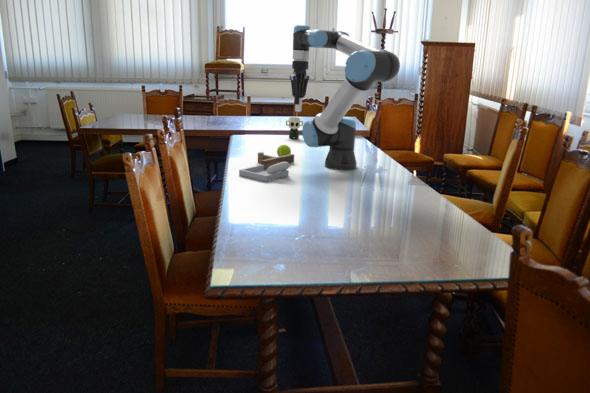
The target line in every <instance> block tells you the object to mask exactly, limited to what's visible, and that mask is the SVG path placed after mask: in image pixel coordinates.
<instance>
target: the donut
mask: <svg viewBox="0 0 590 393" xmlns="http://www.w3.org/2000/svg"><path fill="white" fill-rule="evenodd" d="M289 168H290V164H289V163H288V162H281V163H277V164H275V165H272V166H270V167H268V169H266V170H267V173H268V174H273V173H276V172H280V171H284V170H289Z"/></svg>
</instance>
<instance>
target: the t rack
mask: <svg viewBox="0 0 590 393" xmlns="http://www.w3.org/2000/svg"><path fill="white" fill-rule="evenodd" d="M281 162H288V163H289V165H290V164H293V163H295V154H293V153H291V154H288V155H284V156H275V155H274V156H273V155H270V154H269V155H268V154H265V153H264V152H262V151H259V152H257V163H258V164H260V165H264V170H267V169H268V167H270V166H272V165H275V164H277V163H281Z"/></svg>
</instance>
